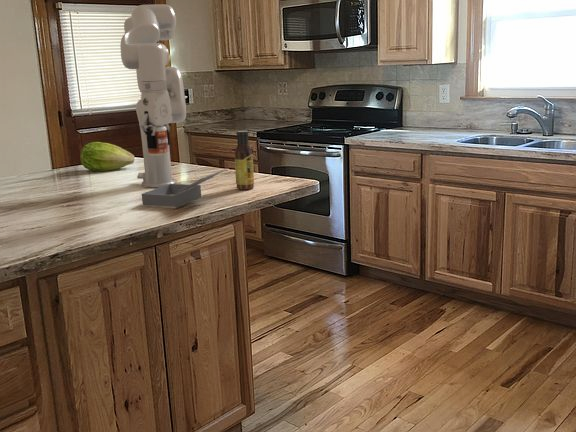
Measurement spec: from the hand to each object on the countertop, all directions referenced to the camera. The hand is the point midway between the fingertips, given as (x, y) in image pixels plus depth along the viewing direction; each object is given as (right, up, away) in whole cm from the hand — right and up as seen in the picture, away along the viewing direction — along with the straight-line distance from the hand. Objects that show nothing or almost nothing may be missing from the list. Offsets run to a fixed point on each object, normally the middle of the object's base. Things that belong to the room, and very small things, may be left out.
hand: (159, 146), depth 189 cm
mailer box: (+2, -17, +10) cm, 20 cm away
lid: (+12, -10, +4) cm, 16 cm away
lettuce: (-36, -2, +73) cm, 82 cm away
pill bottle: (0, -3, +1) cm, 3 cm away
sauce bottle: (+25, -12, +25) cm, 37 cm away
